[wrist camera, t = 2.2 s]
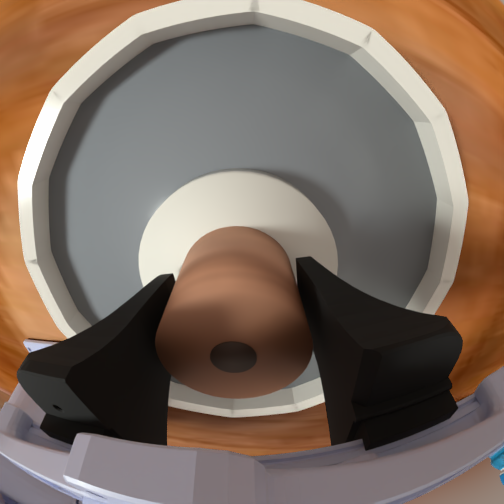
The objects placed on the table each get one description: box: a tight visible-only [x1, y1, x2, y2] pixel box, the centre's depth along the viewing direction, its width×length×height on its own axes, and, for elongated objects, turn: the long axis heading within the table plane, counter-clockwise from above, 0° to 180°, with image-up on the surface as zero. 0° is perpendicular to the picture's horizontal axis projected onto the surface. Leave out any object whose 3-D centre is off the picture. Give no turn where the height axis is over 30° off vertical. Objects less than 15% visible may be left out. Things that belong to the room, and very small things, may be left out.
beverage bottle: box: [488, 445, 504, 485], centre depth 21 cm, size 8×8×20 cm
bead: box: [155, 226, 313, 399], centre depth 10 cm, size 5×5×5 cm
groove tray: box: [18, 0, 469, 418], centre depth 13 cm, size 24×24×2 cm
